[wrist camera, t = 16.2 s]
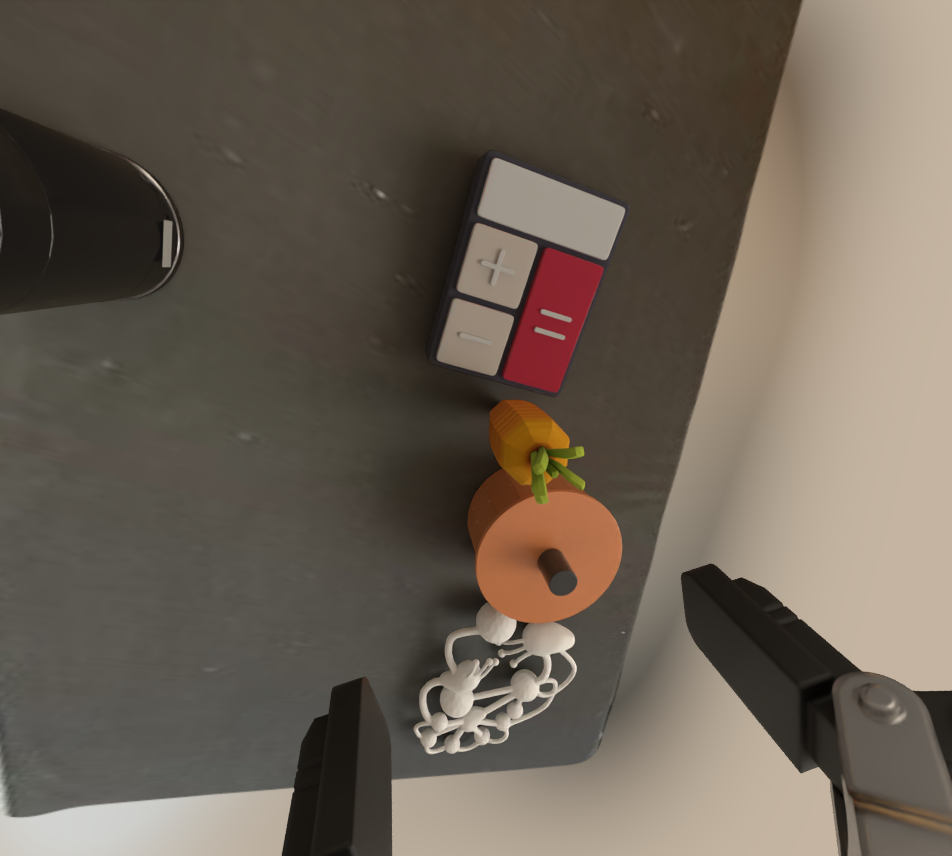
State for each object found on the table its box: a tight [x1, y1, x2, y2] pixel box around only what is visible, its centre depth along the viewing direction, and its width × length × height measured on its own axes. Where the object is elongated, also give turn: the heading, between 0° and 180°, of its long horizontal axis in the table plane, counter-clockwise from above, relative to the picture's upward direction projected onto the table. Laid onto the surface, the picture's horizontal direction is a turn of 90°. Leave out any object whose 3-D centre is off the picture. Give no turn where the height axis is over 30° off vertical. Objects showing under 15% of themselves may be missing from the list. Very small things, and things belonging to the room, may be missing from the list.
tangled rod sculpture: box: [414, 602, 577, 754], centre depth 49 cm, size 19×14×4 cm
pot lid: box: [475, 489, 622, 623], centre depth 38 cm, size 12×12×4 cm
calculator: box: [426, 150, 630, 397], centre depth 37 cm, size 11×4×15 cm
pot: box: [467, 468, 586, 554], centre depth 42 cm, size 11×11×7 cm
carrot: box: [489, 400, 585, 504], centre depth 35 cm, size 5×5×15 cm
